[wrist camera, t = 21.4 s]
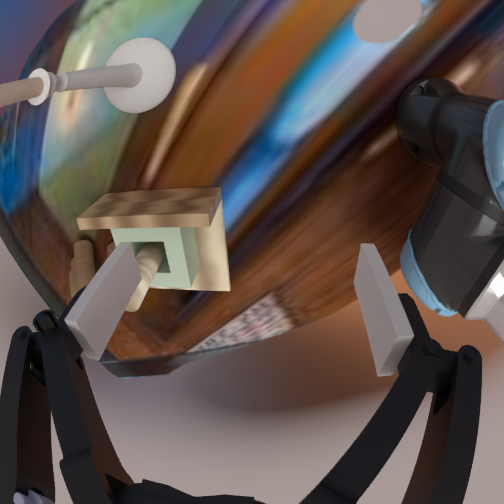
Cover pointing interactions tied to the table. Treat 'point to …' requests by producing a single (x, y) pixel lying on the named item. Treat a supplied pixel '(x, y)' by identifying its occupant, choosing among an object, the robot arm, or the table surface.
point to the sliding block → (167, 252)
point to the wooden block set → (84, 264)
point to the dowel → (146, 271)
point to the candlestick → (107, 78)
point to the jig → (171, 224)
